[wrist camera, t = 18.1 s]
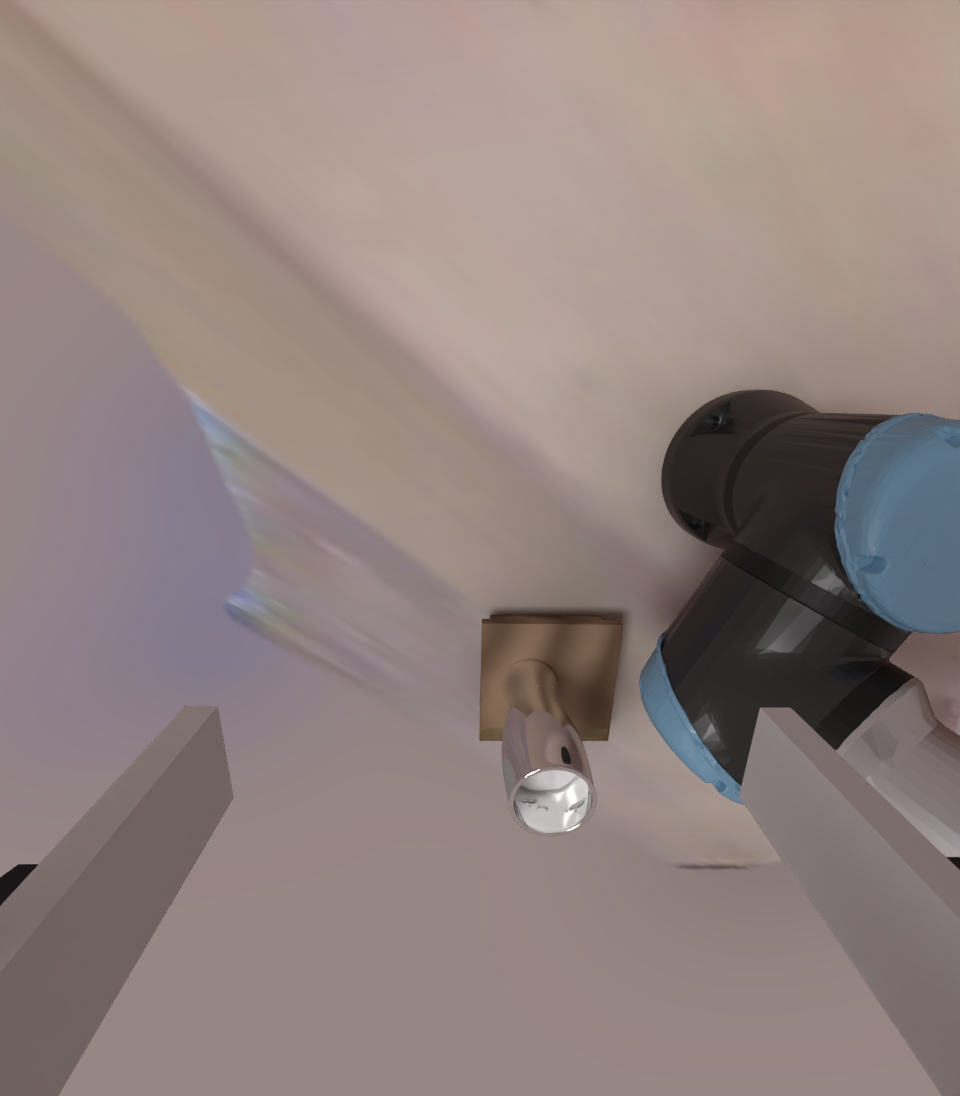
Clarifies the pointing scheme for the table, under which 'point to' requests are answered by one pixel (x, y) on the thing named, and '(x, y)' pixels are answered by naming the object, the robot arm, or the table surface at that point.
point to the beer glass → (543, 755)
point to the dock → (553, 667)
